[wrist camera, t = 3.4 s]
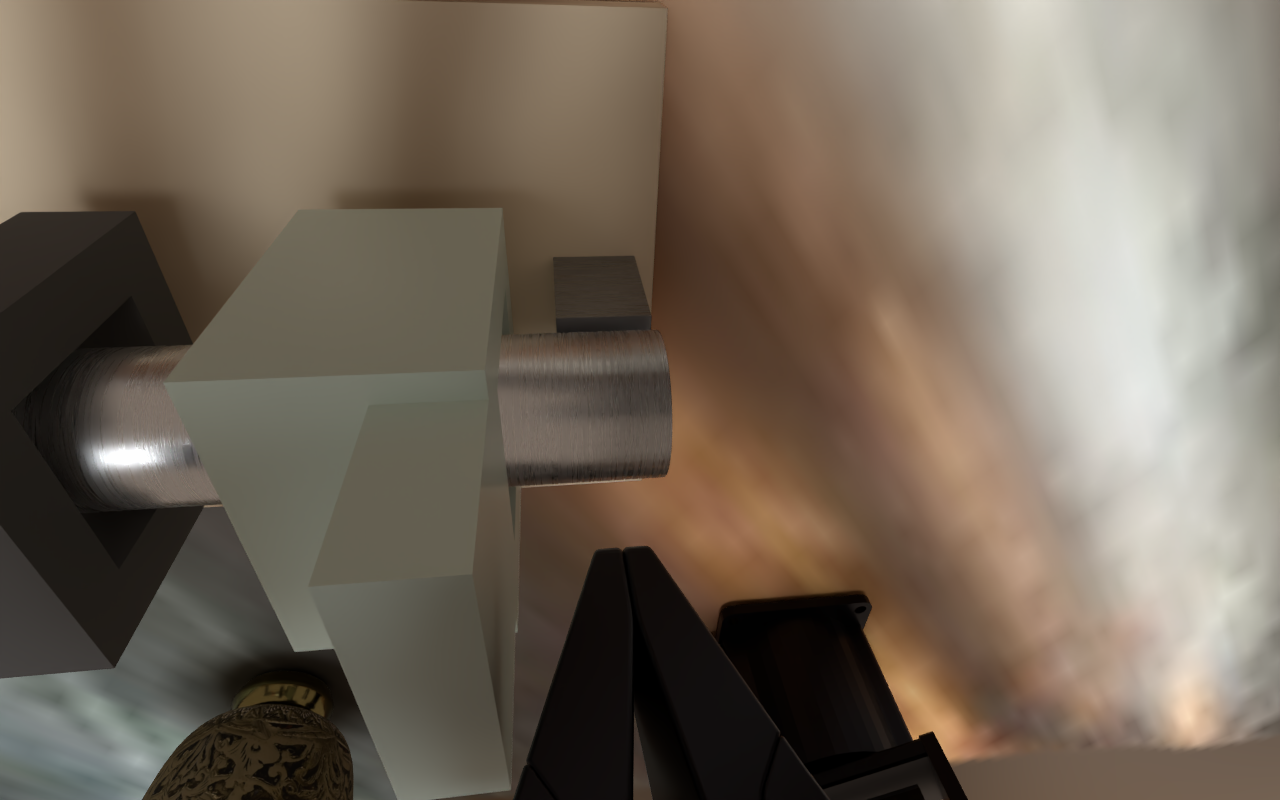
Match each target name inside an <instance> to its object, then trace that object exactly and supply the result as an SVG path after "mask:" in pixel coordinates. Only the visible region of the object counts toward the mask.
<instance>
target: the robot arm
mask: <svg viewBox="0 0 1280 800" xmlns="http://www.w3.org/2000/svg"><path fill="white" fill-rule="evenodd" d="M871 609H872V606H871V603H870V601H869V599H868V598H867V596H865V595H850V596H838V597H827V598H815V599H804V600H793V601H781V602H770V603H758V604H747V605H736V606H729V607H727V608H725V609H723V610H722V611H721V613H720V617H719V622H718V627H717V633H716V638H714V637H713V635H712V634H711V632H710V631H709V630H708V628H707V627H706V625H705V624H704V622H703V621H702V620H701V618H700V617H699V615H698V614H697V612H696V611H695V610H694V608H693V607H692V605H691V604H690V602H689V601H688V600H687V598H686V597H685V595H684V594H683V593H682V591H681V590H680V588H679V587H678V585H677V584H676V583H675V581H674V580H673V578H672V577H671V575H670V574H669V573H668V571H667V570H666V568H665V567H664V565H663V564H662V563H661V561H660V560H659V558H658V557H657V555H656V554H655V553H654V551H653V550H652V549H651V548H650V547H648V546H635V547H626V548H625V549H624V550H623V552H622V550H621V549H620V548H607V549H598V550H596V551H595V553H594V555H593V558H592V561H591V564H590V567H589V570H588V573H587V576H586V579H585V582H584V585H583V588H582V591H581V594H580V598H579V601H578V604H577V607H576V610H575V613H574V616H573V619H572V622H571V625H570V628H569V631H568V634H567V637H566V640H565V644H564V647H563V650H562V653H561V656H560V659H559V662H558V665H557V668H556V671H555V674H554V677H553V680H552V683H551V686H550V690H549V693H548V696H547V699H546V702H545V705H544V708H543V711H542V714H541V717H540V720H539V723H538V726H537V729H536V732H535V736H534V739H533V742H532V745H531V748H530V751H529V754H528V757H527V760H526V762H527V765H525V766H524V768H523V771H522V774H521V777H520V780H519V783H518V786H517V789H516V793H515V795H514V798H513V800H633V757H634V713H635V718H636V722H637V727H638V732H639V737H640V741H641V746H642V751H643V756H644V760H645V765H646V770H647V775H648V779H649V784H650V789H651V794H652V798H653V800H942V799H943V800H968V799H967V797H966V795H965V793H964V791H963V789H962V787H961V785H960V784H959V781H958V779H957V777H956V776H955V774H954V772H953V770H952V768H951V766H950V764H949V762H948V760H947V758H946V756H945V754H944V752H943V750H942V748H941V746H940V744H939V742H938V740H937V738H936V736H935V734H934V733H933V731H932V732H929V733H926V734H923V735H919V739H916V740H913V739H912V737H911V735H910V733H909V731H908V728H907V726H906V724H905V722H904V720H903V717H902V715H901V713H900V711H899V709H898V706H897V704H896V702H895V700H894V698H893V695H892V693H891V691H890V689H889V687H888V684H887V682H886V680H885V678H884V676H883V673H882V671H881V669H880V667H879V665H878V662H877V660H876V658H875V656H874V654H873V651H872V649H871V647H870V645H869V643H868V640H867V638H866V636H865V634H864V632H863V628H864V626H865V623H866V621H867V619H868V616H869V614H870V611H871Z"/></svg>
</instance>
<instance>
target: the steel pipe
mask: <svg viewBox="0 0 1280 800" xmlns="http://www.w3.org/2000/svg"><path fill="white" fill-rule="evenodd" d="M553 268H554V291H555V313H556V333H538V334H507V335H502V336H501V349H500V361H499V374H498V387H497V392H498V401H499V410H500V418H501V427H502V436H503V445H504V453H505V462H506V471H507V480H508V487H513V486H529V485H545V484H562V483H578V482H594V481H610V480H627V479H643V478H659V477H665V476H666V475H667V472H668V469H669V465H670V458H671V447H672V399H671V385H670V375H669V367H668V360H667V354H666V349H665V345H664V341H663V338H662V335H661V333H660V332H659V330H651V312H650V309H649V305H648V302H647V298H646V295H645V291H644V288H643V284H642V281H641V277H640V274H639V270H638V267H637V263H636V260H635V256H590V257H553ZM191 346H192V345H171V346H140V347H110V348H79V349H75V350H74V351H73V352H72V353H71V354H70V355H69V356H68V357H67V358H66V359H65V360H64V361H63V362H62V363H61V364H60V365H59V366H58V367H56V368H55V369H54V370H53V371H52V372H51V373H50V374H49V375H48V376H47V377H46V378H45V379H44V380H43V381H42V382H41V383H40V384H39V385H38V386H37V387H36V388H35V389H34V390H32V391H31V392H30V393H29V394H28V395H27V396H26V397H25V398H24V399H23V400H22V401H21V402H20V403H19V404H18V405H17V406H16V407H15V408H14V409H13V410H12V411H11V412H12V413H13V415H14V416H15V418H16V419H17V420H18V422H19V423H20V425H21V426H22V428H23V429H24V431H25V432H26V434H27V435H28V437H29V438H30V440H31V441H32V442H33V444H34V445H35V447H36V448H37V450H38V451H39V453H40V454H41V456H42V457H43V459H44V460H45V462H46V463H47V465H48V466H49V467H50V469H51V470H52V472H53V473H54V475H55V476H56V478H57V479H58V481H59V482H60V484H61V485H62V487H63V488H64V490H65V491H66V492H67V494H68V495H69V497H70V498H71V500H72V501H73V503H74V504H75V506H76V507H77V509H78V510H79V512H80V513H91V512H107V511H123V510H139V509H156V508H172V507H188V506H204V505H220V504H222V502H221V500H220V498H219V496H218V494H217V492H216V490H215V488H214V486H213V484H212V482H211V480H210V478H209V476H208V474H207V472H206V470H205V468H204V466H203V463H202V461H201V459H200V457H199V455H198V453H197V451H196V449H195V447H194V445H193V443H192V441H191V439H190V437H189V435H188V433H187V431H186V429H185V427H184V425H183V423H182V420H181V418H180V416H179V414H178V412H177V410H176V408H175V406H174V404H173V402H172V400H171V398H170V396H169V394H168V392H167V390H166V388H165V386H164V384H163V382H164V381H165V379H166V378H167V377H168V376H169V374H170V373H171V372H172V371H173V369H174V368H175V367H176V365H177V364H178V363H179V362H180V360H181V359H182V358H183V357H184V355H185V354H186V353H187V351H188V350H189V349H190V348H191Z"/></svg>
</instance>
